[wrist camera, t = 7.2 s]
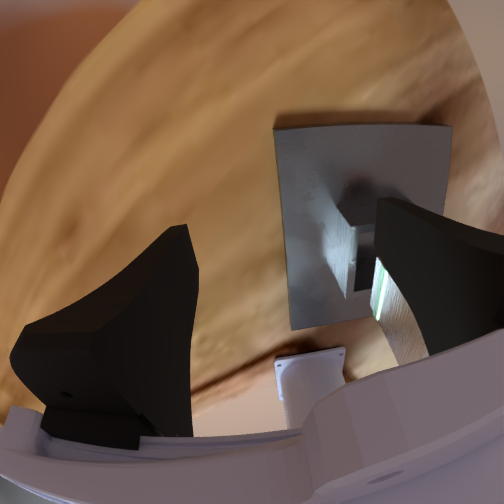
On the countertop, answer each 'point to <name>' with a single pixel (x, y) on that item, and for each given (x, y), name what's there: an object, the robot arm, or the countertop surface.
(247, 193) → the countertop surface
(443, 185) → the jack base
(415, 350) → the grooved grey block
